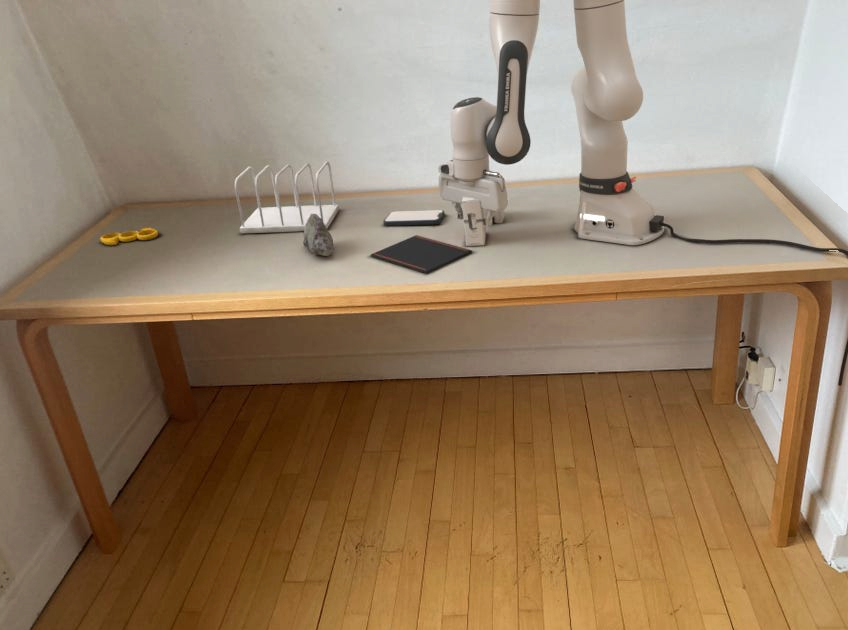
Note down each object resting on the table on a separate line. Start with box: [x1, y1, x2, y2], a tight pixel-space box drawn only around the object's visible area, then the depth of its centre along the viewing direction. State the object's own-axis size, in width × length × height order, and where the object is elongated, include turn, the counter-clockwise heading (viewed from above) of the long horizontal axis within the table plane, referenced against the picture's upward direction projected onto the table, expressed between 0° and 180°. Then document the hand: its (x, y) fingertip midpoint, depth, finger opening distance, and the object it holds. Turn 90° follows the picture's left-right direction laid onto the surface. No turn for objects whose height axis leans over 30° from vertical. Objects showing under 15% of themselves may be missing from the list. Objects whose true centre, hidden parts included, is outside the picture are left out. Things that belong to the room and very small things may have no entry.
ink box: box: [461, 197, 487, 247], centre depth 196 cm, size 9×5×12 cm, turn 174°
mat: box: [370, 235, 473, 275], centre depth 193 cm, size 20×16×1 cm
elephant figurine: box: [484, 189, 510, 224], centre depth 209 cm, size 10×12×9 cm
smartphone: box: [383, 209, 446, 227], centre depth 216 cm, size 9×2×16 cm
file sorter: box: [234, 160, 340, 234], centre depth 220 cm, size 25×17×16 cm
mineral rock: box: [302, 214, 335, 257], centre depth 198 cm, size 13×11×10 cm
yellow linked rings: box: [99, 227, 159, 246], centre depth 223 cm, size 17×2×10 cm
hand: (474, 221), depth 196 cm, fingers open, 8 cm apart
